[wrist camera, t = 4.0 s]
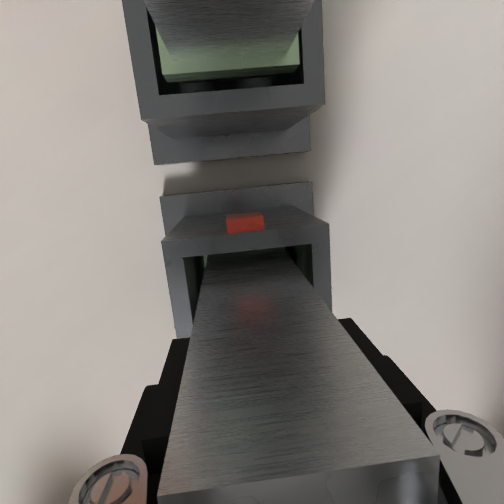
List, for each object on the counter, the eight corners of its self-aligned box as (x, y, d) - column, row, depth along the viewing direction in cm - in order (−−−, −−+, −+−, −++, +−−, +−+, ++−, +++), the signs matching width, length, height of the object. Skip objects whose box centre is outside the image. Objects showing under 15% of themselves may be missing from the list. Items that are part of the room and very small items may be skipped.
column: (276, 225, 22) (469, 427, 5) (281, 291, 23) (449, 655, 6) (204, 232, 22) (121, 477, 4) (213, 299, 23) (175, 704, 5)
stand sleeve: (308, 181, 23) (360, 187, 14) (314, 314, 25) (362, 391, 16) (162, 195, 22) (121, 211, 13) (183, 330, 24) (160, 418, 16)
